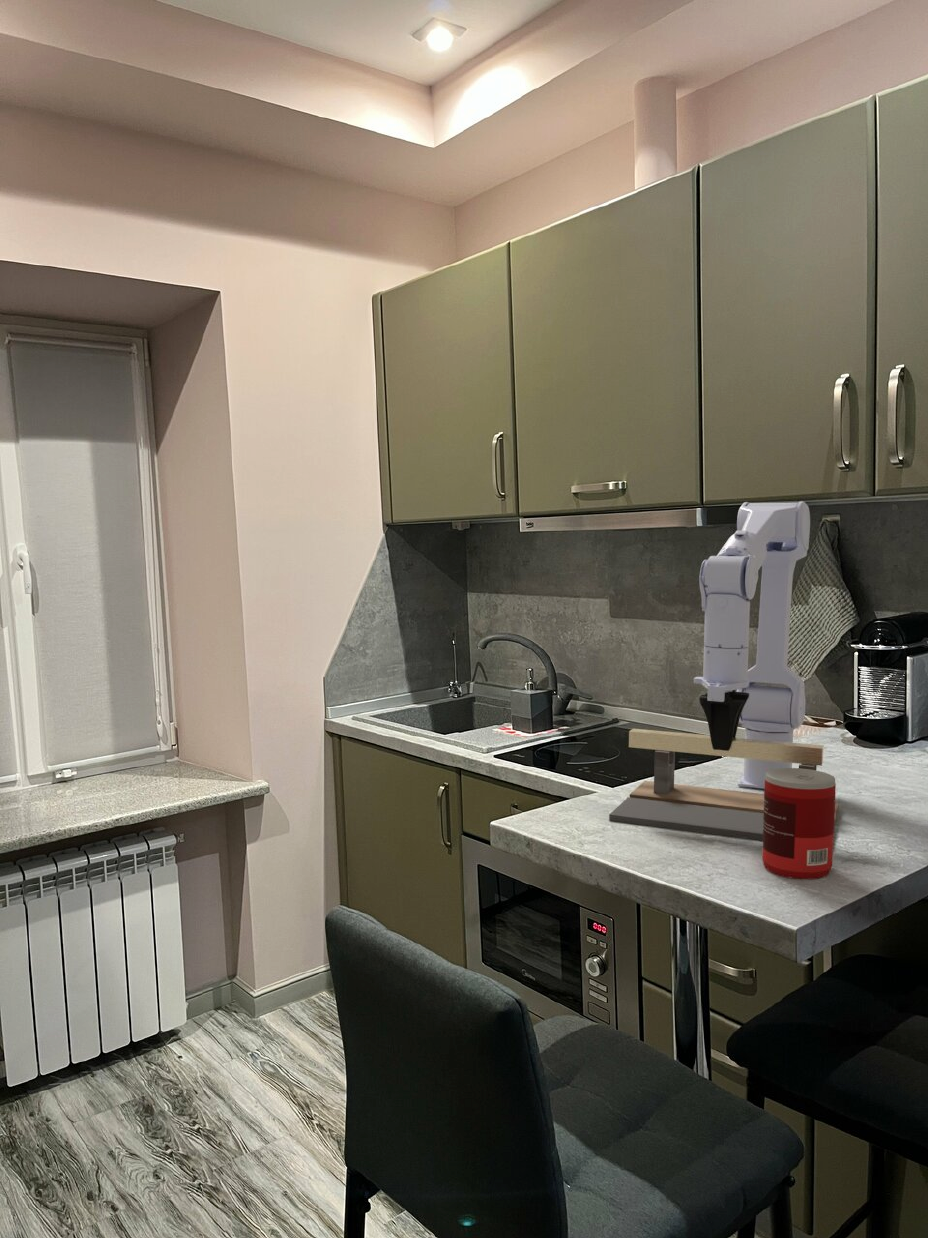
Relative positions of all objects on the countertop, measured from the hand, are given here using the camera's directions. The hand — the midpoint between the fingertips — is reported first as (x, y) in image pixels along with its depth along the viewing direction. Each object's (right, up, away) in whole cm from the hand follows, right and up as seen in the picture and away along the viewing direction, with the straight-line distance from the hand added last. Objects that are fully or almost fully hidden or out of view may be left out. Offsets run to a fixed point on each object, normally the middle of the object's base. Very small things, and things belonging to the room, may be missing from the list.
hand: (723, 747), depth 128 cm
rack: (+4, -10, +10) cm, 15 cm away
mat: (0, -10, +1) cm, 10 cm away
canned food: (+4, -12, -17) cm, 21 cm away
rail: (0, -1, 0) cm, 1 cm away
